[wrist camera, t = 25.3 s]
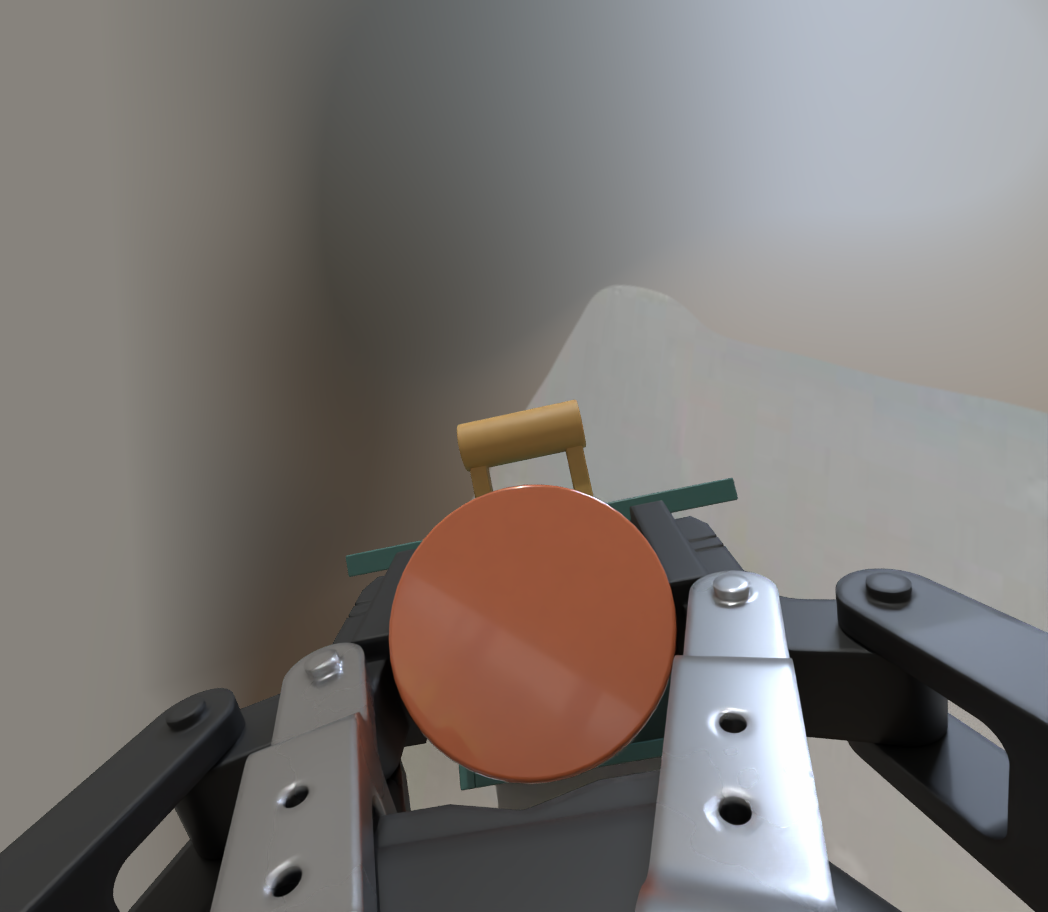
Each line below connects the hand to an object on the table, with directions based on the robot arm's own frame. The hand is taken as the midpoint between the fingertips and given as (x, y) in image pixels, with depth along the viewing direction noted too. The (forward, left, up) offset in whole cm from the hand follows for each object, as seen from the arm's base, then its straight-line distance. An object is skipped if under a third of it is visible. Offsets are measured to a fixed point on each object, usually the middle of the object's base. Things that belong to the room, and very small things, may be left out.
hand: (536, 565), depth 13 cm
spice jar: (0, -2, -5) cm, 5 cm away
